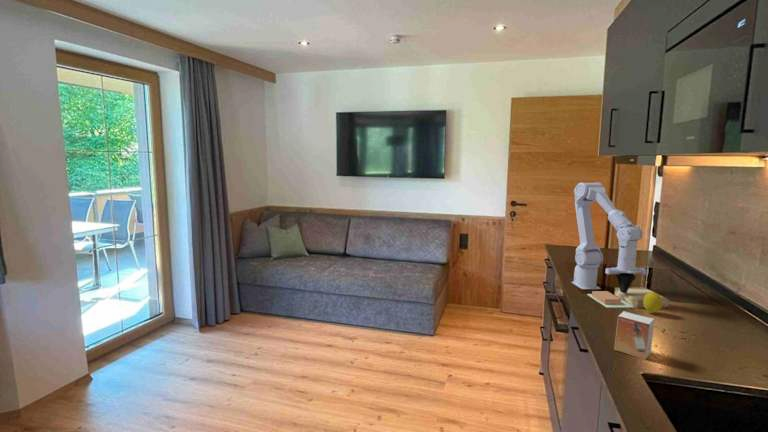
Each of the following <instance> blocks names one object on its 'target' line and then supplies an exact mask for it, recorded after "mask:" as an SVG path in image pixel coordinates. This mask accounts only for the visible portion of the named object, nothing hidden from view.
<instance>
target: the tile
mask: <svg viewBox="0 0 768 432" xmlns="http://www.w3.org/2000/svg"><path fill="white" fill-rule="evenodd" d="M591 294H592V296H593V297H594V298H596V299H597V300H599V301H600V302H602V303H603V304H621V298H619V297H617V296H615V295H614V294H613V293H611V292H610V291H608V290H602V291H601V290H600V291H599V290H598V291H597V290H592V291H591Z"/></svg>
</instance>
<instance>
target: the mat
mask: <svg viewBox="0 0 768 432" xmlns="http://www.w3.org/2000/svg"><path fill="white" fill-rule="evenodd" d="M586 296H588V297H590V298H591V299H593V300H594V301H596V302H597V303H599V304H600V305H602V306H604V307H605V308H607V309H635V307H634V306H633V305H631V304H629V303H627V302H626V301H624V300H622V299H621V298H620V299H621V304H603V303H602V302H600V301H599V300H597V299H596V298H594V297H593V296H592V293H587V294H586Z"/></svg>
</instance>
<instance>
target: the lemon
mask: <svg viewBox="0 0 768 432" xmlns="http://www.w3.org/2000/svg"><path fill="white" fill-rule="evenodd" d="M658 294H659V293H657V292H656V291H652V292H650V293H648V294H646V295H645V297H644V300H643V305H644V307H645V308H644V309H645V310H646V311H647V312H649V313H650V314H654V313H657V312H659V311H661V309H662V308H661V307H662V299H661V297H660V294H659V295H658Z"/></svg>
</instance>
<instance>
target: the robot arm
mask: <svg viewBox="0 0 768 432" xmlns="http://www.w3.org/2000/svg"><path fill="white" fill-rule="evenodd" d="M606 191H607V189H606V188H605V186H604V185H603V184H602V183H601V182H598V181H597V182H579V183H578V184H576V185H575V188H574V189H573V193H574V208H575V215H576V223H577V230H578V235H579V245H578V246H577V247H576V248H575V256H574V259H575V260H574V261H575V263H576V265H575V267H574V272H573V281H571V283H572V284H573V285H574V286H576V287H578V288H579V289H580V290H601V287H600V286H597V281H598V271H599V270H598V269H599V267H600V265H601V264H602V263H603V261H604V255H603V253H602V250H601V247H600V246H599V245H598V244H597V243H596V241H595V236H594V229H593V221H592V215H591V214H592V213H591V207H590V206H591V205H592V204H593V203H594V202H597V203H598V205H599V206H600V207H601V208H602V209H603V210H604V211H605V212H606V213H607V220H608V221H609V223H610V224H611V225H612V226H613V228H614V230H615V231H616V237H617V240H618V242H617V243H618V246H619V247H618V255H617V257H618V258H617V266H616V267H615V266H614V267H606V268H605V272H604V273H605V274H606V275H614V276H615V277H616V280H617V282H618V287H619V288H620V291H621V292H622V293H627V291H628V288H630V286H631V284H632V283H633V281H634V280H635V279H636V277H637V276H636V275H646V274H647V269H645V268H643V267H636V262H637V261H636V260H637V251H638V243H639V242H638V241H640V240H641V239H642V238H643V231H642V229H641V227H640V226H639V225H637V224H636V225H635V224H634V223H632V221H631V220H630V219H629V218H628V216H627V215H626V212H625V211H622V210H620V209H617V208H616V207H615V205H614V203H613V202H612V200H611V199H610V198H609V196H608V194H607V193H606Z"/></svg>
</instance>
